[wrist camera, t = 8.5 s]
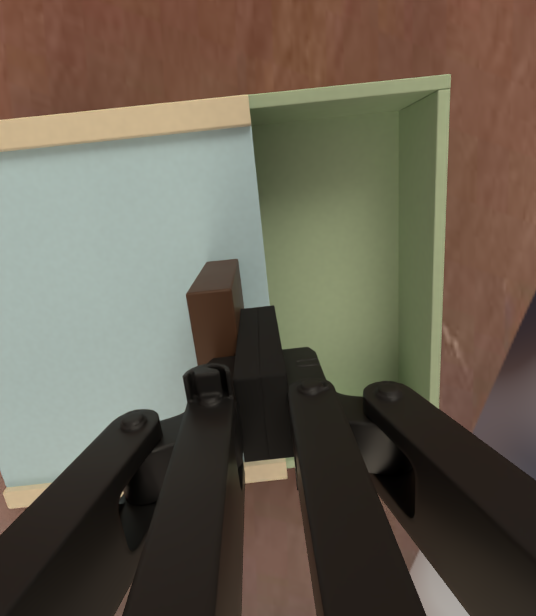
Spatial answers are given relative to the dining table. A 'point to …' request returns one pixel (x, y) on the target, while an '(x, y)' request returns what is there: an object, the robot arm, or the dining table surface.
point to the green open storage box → (357, 226)
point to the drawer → (119, 271)
